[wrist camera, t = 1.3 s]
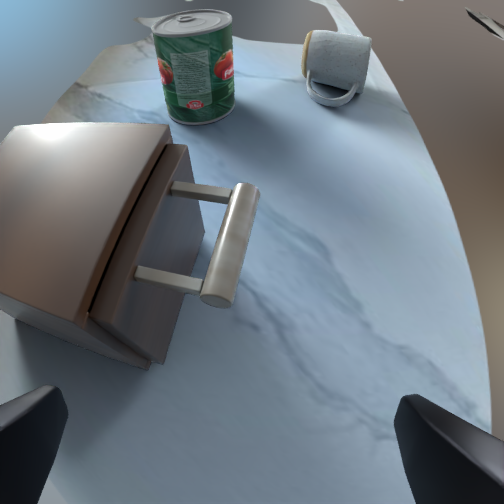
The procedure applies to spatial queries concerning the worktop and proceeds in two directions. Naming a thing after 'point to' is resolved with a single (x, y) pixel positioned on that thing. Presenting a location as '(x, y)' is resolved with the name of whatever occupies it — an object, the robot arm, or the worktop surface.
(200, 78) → the canned tomato
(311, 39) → the ceramic mug
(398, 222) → the worktop surface
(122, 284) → the drawer
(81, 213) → the storage box
